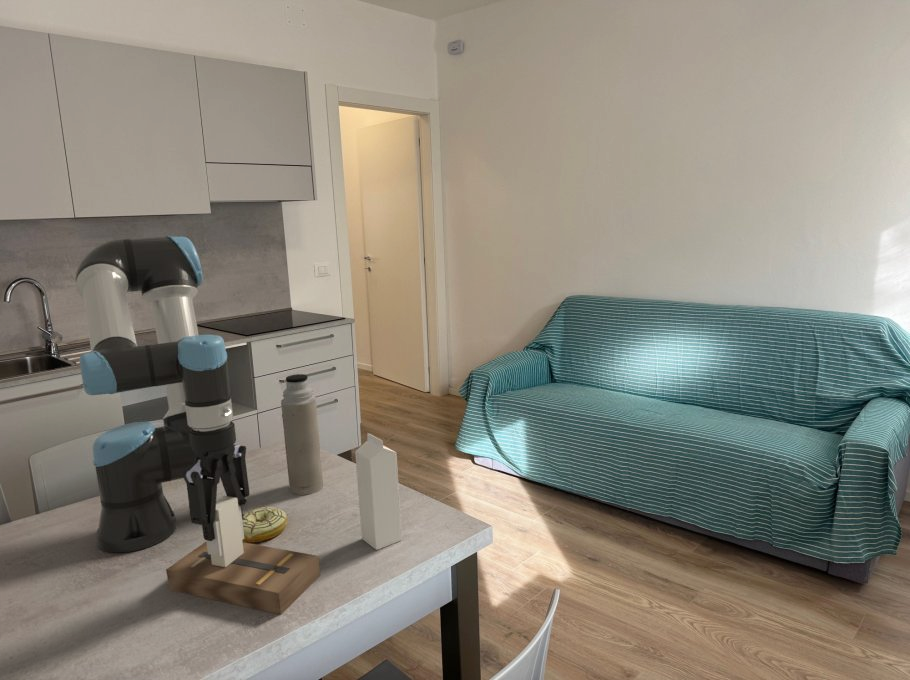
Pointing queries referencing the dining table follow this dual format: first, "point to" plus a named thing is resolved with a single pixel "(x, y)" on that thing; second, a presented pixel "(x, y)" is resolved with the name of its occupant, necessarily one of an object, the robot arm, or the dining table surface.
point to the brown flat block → (247, 577)
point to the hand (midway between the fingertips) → (226, 545)
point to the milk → (378, 493)
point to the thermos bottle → (301, 436)
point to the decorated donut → (263, 524)
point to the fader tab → (228, 531)
